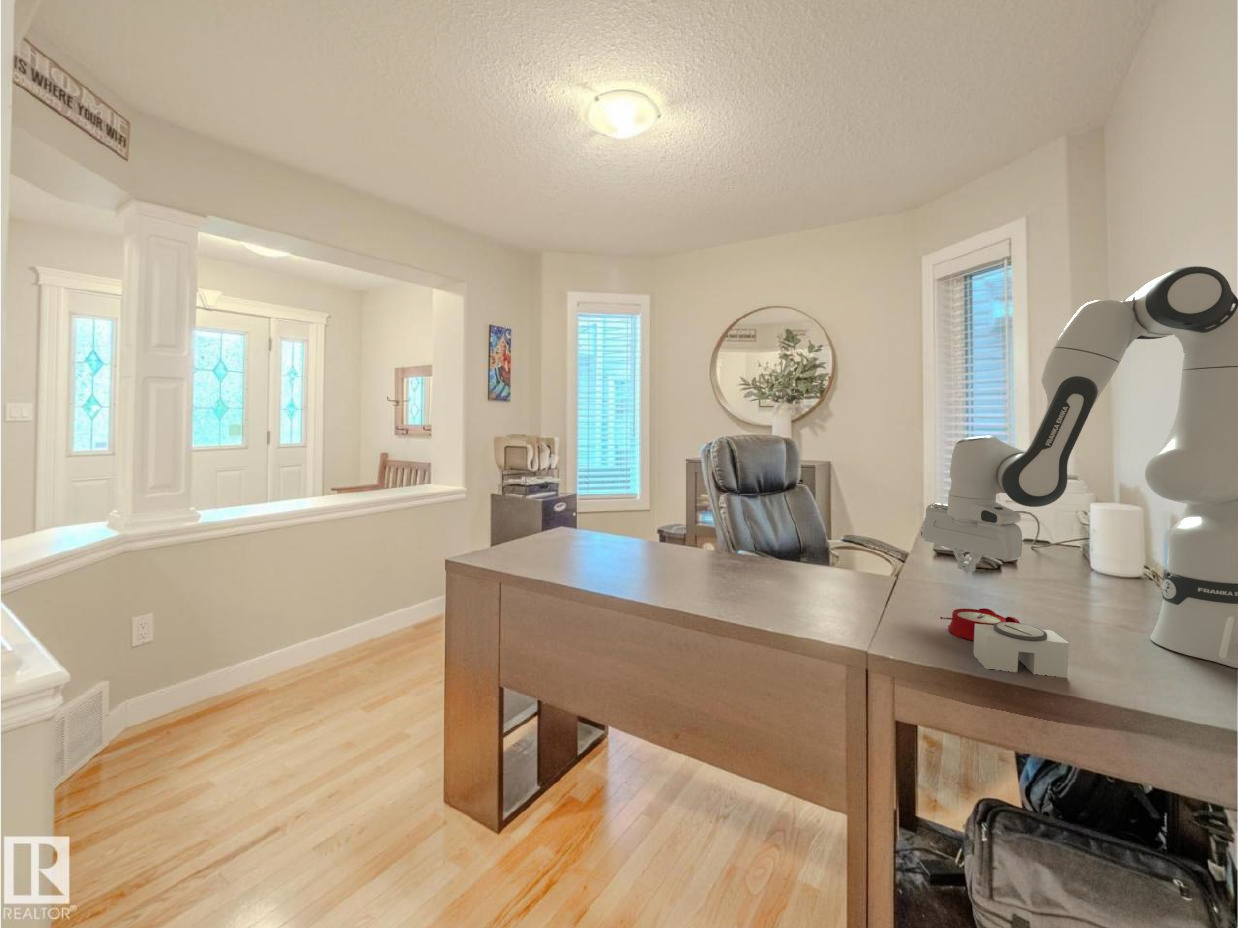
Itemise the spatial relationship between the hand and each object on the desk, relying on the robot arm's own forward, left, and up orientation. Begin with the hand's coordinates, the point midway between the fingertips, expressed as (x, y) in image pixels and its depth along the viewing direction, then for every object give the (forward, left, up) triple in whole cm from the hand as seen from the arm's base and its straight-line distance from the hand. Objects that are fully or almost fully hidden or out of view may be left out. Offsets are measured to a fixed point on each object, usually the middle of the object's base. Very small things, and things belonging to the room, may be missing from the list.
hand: (966, 570), depth 121 cm
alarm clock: (-1, +11, -11) cm, 15 cm away
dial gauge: (-1, +27, -10) cm, 29 cm away
